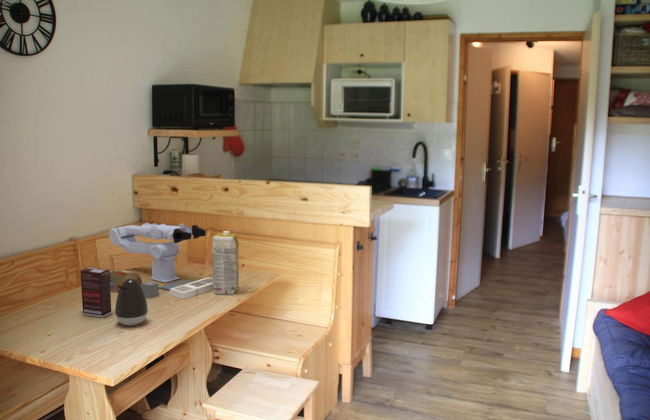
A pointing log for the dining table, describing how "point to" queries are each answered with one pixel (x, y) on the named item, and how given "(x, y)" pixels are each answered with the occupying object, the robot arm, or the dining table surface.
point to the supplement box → (96, 292)
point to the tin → (121, 278)
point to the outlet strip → (192, 288)
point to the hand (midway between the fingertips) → (197, 234)
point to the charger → (150, 289)
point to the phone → (175, 284)
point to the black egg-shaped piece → (131, 303)
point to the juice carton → (225, 263)
